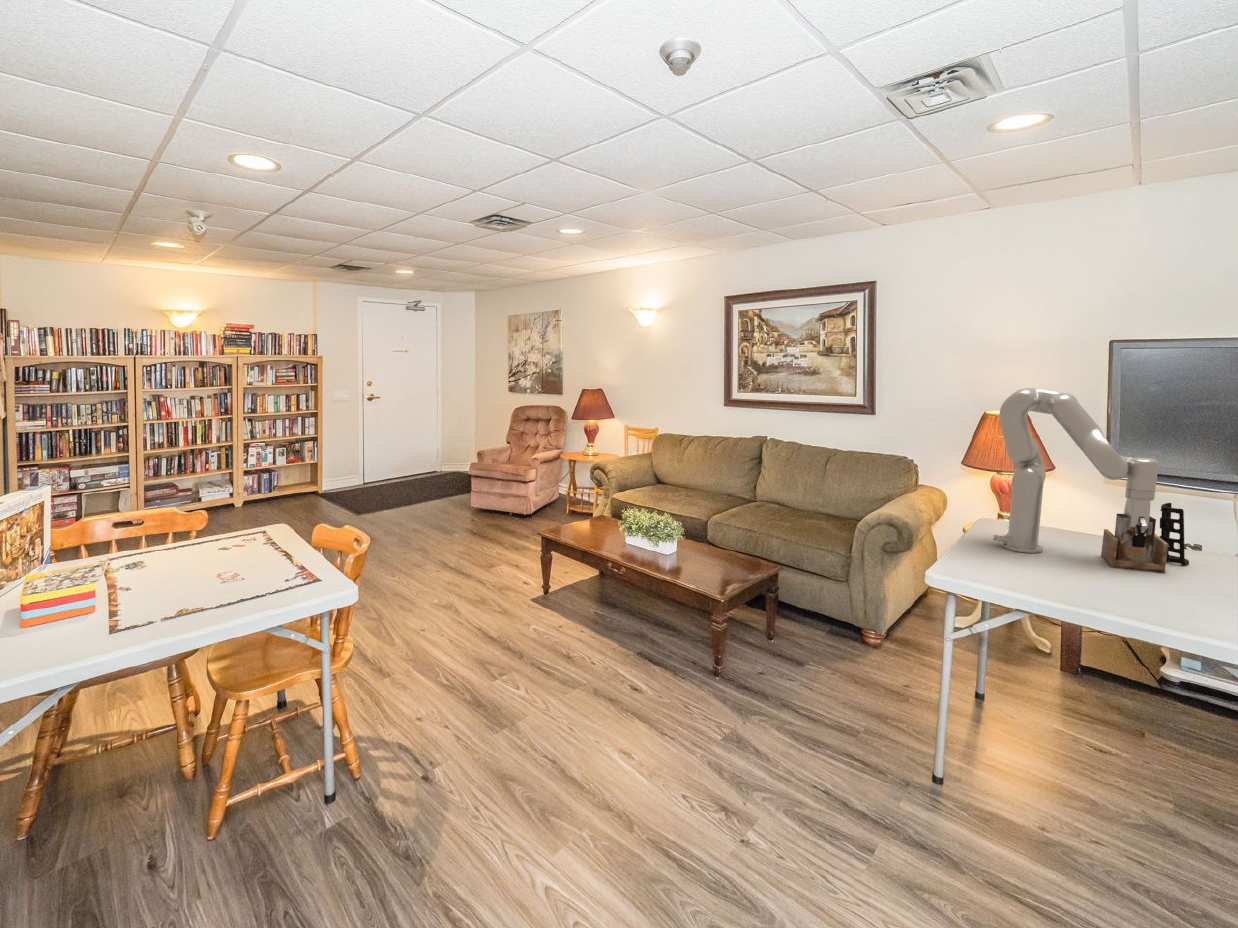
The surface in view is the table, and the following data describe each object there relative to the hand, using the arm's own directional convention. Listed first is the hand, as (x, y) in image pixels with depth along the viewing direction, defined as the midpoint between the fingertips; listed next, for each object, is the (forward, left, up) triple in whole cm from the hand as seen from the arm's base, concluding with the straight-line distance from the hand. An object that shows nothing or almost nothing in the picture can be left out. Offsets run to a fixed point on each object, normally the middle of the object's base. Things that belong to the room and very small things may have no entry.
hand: (1133, 543), depth 206 cm
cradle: (0, 0, -7) cm, 7 cm away
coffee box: (0, 0, -7) cm, 7 cm away
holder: (+13, +10, -8) cm, 18 cm away
